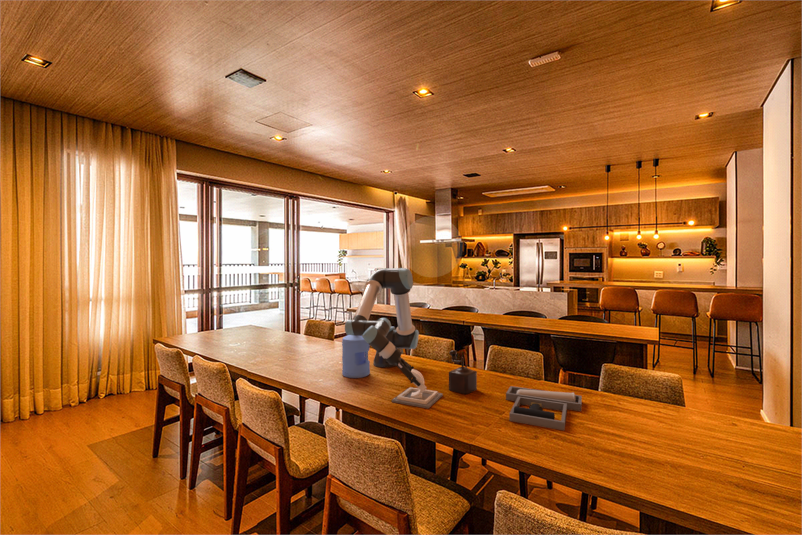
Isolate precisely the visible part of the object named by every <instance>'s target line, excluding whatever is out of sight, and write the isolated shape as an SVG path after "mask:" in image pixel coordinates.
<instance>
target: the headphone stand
mask: <svg viewBox="0 0 802 535" xmlns="http://www.w3.org/2000/svg"><path fill="white" fill-rule="evenodd" d="M411 372H412V374H415V375H416V376H418V377H419V378H420V380H421V382H422V383H423V384H424V385H425V378H424V376H423V374H422V373H421V372H420V371H419V370H417V369H414V368H413V369H412V370H411ZM411 398H422V391H421V390H419V391H417V392H414V393H412V394H411Z"/></svg>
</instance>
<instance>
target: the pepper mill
mask: <svg viewBox="0 0 802 535" xmlns="http://www.w3.org/2000/svg"><path fill="white" fill-rule="evenodd" d="M457 353H458V352H457V350H455V349H453V350H452V349H451V350H450V351H449V355H450V357H451V362H453V363H461V366H459V367H457V368H455V369H452V370H450V371H448V391H451V392H454V393H458V394H462V395H469V394H471V393H473V392H475V391H477V386H478V385H477V384H478V383H477V381H478V380H477V376H478V374H477V372H478V371H477V370H473V369H471V368H468V365H465V366H464V361H465V358H464V356H461V359H460V360H456V359H458V358H457Z"/></svg>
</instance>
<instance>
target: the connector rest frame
mask: <svg viewBox="0 0 802 535" xmlns="http://www.w3.org/2000/svg"><path fill="white" fill-rule="evenodd" d="M531 402H534V403H540V404H542V408H543V409H548V410H554V411H561V420H558V419H555V420H553V419H547V418H541V417H535V416H529V415H523V414H517V413H514V407H515V406H516V407H520V406H521V405H523V406H529V407H530V405H531ZM567 412H568V409H567V403H560V402H553V401H546V400H540V399H533V398H526V397H519V396H518V397H517V399H516V401H514V403H513V405H512V408H511V409H510V412H509V414H508V416H509V418H508V419H509V422H514V423H518V424H519V423H521V424H526V425H531V426H537V427H543V428H548V429H553V430H559V431H565V428H566V420H567Z"/></svg>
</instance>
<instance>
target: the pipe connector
mask: <svg viewBox="0 0 802 535" xmlns="http://www.w3.org/2000/svg"><path fill="white" fill-rule="evenodd" d="M514 413H517V414H523V415H529V416H535V417H541V418H547V419H553V420H556V418H555V417H556V413H555V412H554V411H547V410H544V408H542V404H540V403H534V402H531V405H530V406H529V407H522V406H521V407H520V406H519V407H516V406H515V407H514Z"/></svg>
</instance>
